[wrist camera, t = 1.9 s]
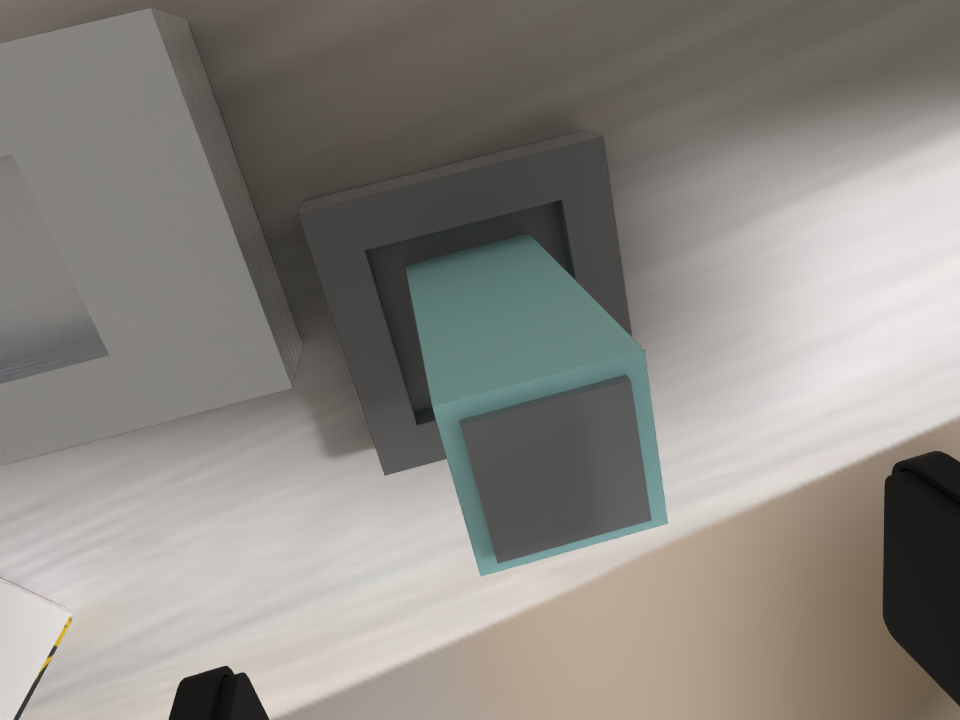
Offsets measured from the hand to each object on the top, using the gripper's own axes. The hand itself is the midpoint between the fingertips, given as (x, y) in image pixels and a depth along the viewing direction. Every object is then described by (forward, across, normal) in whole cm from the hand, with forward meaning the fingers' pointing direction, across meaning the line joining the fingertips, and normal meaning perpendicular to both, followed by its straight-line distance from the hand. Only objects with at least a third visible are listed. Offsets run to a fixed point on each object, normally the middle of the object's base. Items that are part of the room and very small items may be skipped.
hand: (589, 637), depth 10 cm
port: (+15, +12, -5) cm, 20 cm away
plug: (+14, -1, 0) cm, 14 cm away
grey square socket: (+15, -1, 0) cm, 15 cm away
